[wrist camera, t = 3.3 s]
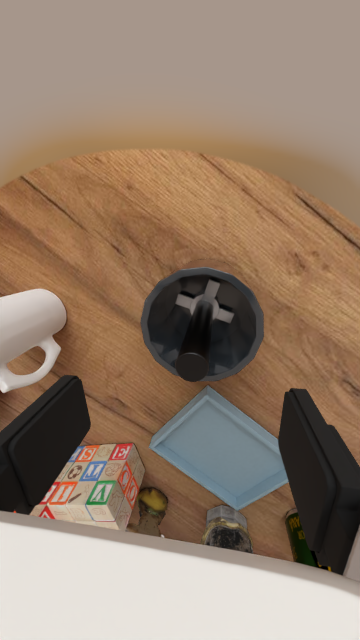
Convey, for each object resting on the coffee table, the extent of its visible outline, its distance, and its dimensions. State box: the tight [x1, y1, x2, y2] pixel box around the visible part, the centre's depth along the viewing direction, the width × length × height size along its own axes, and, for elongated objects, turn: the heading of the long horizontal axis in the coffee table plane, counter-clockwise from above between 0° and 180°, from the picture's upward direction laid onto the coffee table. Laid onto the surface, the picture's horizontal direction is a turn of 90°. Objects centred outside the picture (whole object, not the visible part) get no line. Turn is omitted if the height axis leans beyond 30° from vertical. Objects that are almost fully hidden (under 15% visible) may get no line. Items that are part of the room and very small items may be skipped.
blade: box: [175, 279, 234, 382], centre depth 19 cm, size 6×6×13 cm
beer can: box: [285, 508, 332, 572], centre depth 30 cm, size 5×5×12 cm
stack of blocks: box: [13, 443, 145, 531], centre depth 33 cm, size 21×6×12 cm, turn 105°
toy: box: [125, 488, 168, 538], centre depth 35 cm, size 7×5×10 cm
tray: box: [149, 385, 289, 511], centre depth 32 cm, size 17×13×2 cm
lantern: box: [200, 505, 253, 554], centre depth 27 cm, size 9×8×25 cm
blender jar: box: [141, 259, 264, 381], centre depth 23 cm, size 10×10×8 cm
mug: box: [0, 289, 66, 393], centre depth 25 cm, size 10×7×12 cm, turn 38°
